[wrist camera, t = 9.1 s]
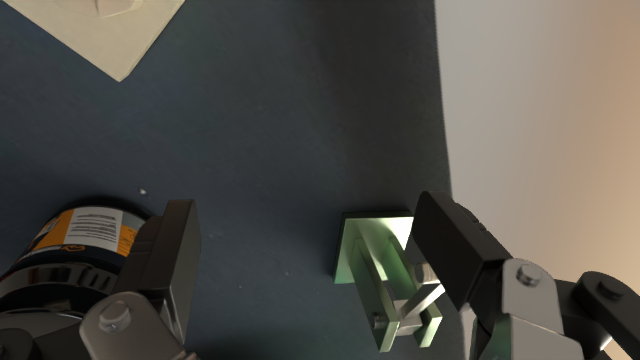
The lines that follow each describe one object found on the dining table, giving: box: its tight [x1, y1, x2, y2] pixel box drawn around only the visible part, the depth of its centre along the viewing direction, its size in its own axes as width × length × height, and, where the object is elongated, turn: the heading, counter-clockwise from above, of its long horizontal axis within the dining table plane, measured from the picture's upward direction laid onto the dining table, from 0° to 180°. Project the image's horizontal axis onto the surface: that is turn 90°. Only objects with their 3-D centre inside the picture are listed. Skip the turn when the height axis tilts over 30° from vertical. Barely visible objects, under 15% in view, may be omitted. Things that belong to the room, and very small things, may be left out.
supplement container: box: [0, 200, 151, 338], centre depth 27 cm, size 10×10×12 cm
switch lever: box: [392, 262, 445, 336], centre depth 27 cm, size 12×5×2 cm, turn 174°
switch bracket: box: [332, 211, 442, 352], centre depth 34 cm, size 10×8×12 cm
